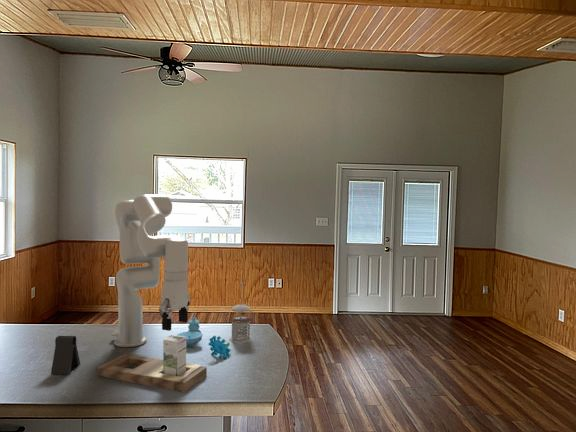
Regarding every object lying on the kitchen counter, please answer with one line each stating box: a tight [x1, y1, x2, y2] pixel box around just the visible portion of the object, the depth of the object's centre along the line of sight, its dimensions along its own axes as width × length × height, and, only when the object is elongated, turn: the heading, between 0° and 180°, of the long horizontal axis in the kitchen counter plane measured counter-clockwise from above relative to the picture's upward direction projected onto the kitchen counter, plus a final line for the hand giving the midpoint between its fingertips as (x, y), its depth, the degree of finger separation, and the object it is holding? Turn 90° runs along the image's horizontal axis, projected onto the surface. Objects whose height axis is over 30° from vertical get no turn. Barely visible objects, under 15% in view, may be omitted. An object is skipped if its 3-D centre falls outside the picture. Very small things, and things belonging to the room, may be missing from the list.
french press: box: [228, 282, 255, 344], centre depth 195 cm, size 10×12×25 cm
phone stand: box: [50, 335, 81, 376], centre depth 158 cm, size 9×6×12 cm, turn 179°
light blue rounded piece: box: [176, 316, 204, 348], centre depth 190 cm, size 18×10×9 cm, turn 1°
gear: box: [208, 335, 231, 360], centre depth 175 cm, size 11×6×10 cm
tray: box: [97, 353, 208, 393], centre depth 155 cm, size 34×14×3 cm, turn 71°
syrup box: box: [162, 334, 187, 376], centre depth 152 cm, size 6×6×14 cm
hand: (175, 325), depth 151 cm, fingers open, 9 cm apart
